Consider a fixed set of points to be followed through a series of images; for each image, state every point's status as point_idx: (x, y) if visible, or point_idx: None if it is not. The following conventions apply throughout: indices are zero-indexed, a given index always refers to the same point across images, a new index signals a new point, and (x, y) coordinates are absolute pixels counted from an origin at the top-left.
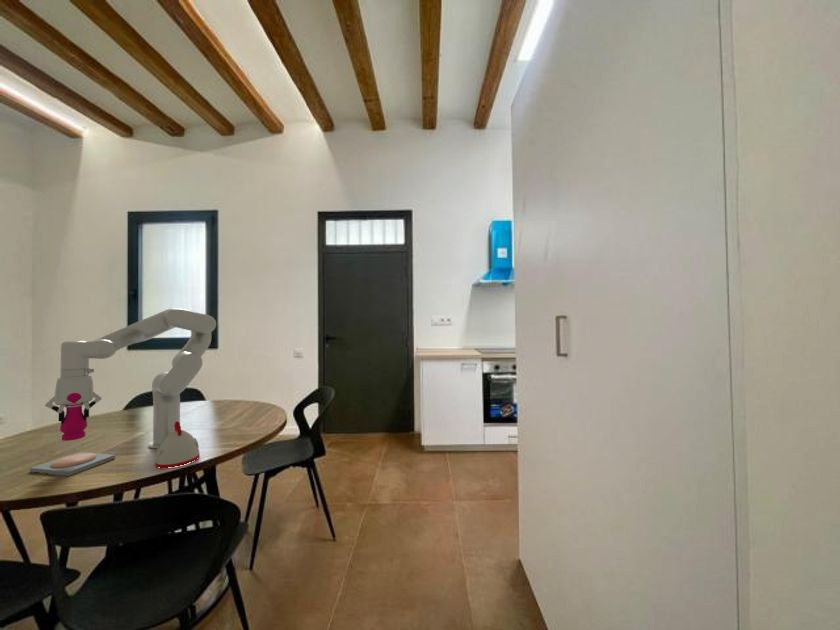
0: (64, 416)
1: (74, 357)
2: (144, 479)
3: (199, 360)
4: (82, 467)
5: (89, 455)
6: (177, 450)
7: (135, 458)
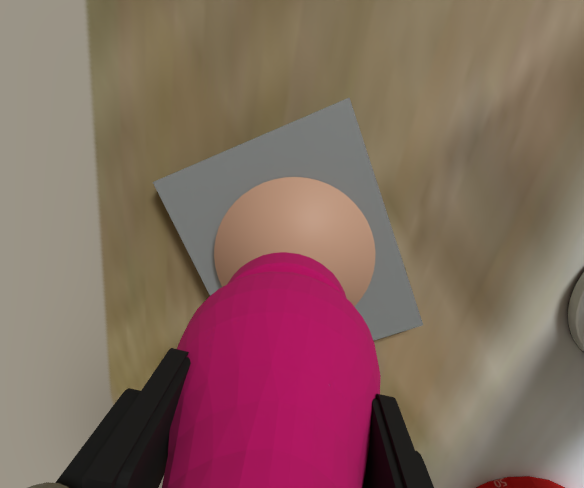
0: (166, 417)
1: None
2: None
3: None
4: None
5: (351, 257)
6: None
7: (459, 383)
